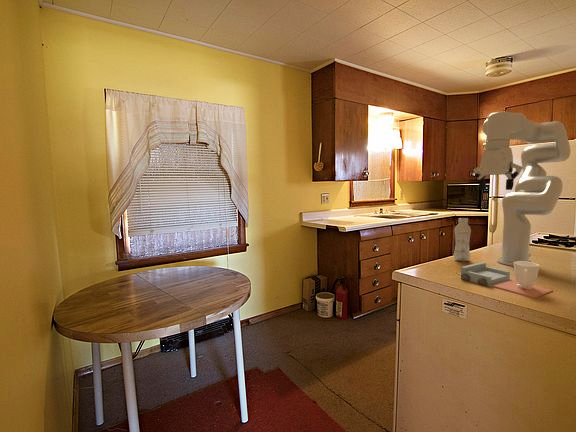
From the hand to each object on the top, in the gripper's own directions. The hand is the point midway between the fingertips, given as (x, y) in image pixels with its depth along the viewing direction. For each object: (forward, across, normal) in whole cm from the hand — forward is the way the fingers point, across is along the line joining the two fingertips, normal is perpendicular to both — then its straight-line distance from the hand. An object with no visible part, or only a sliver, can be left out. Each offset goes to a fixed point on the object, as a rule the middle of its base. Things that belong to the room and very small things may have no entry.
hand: (495, 189), depth 117 cm
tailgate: (+33, +17, -13) cm, 40 cm away
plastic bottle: (+34, -16, +6) cm, 38 cm away
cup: (+32, +18, -13) cm, 39 cm away
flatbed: (+33, +5, -13) cm, 36 cm away
